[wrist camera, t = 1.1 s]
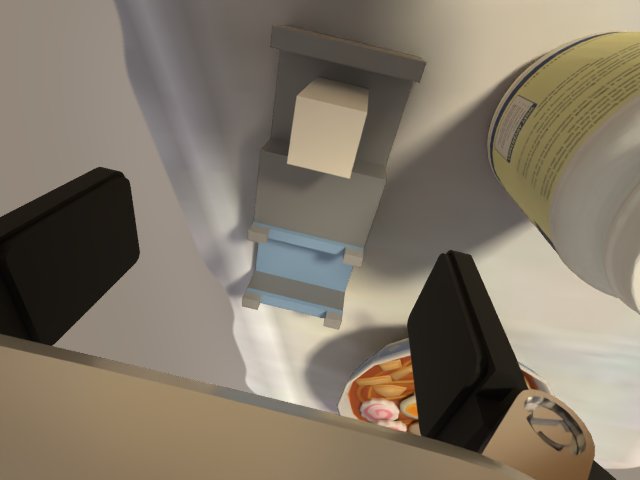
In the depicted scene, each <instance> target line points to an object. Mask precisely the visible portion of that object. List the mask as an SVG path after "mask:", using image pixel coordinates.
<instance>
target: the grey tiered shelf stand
mask: <svg viewBox="0 0 640 480" xmlns="http://www.w3.org/2000/svg"><path fill="white" fill-rule="evenodd" d="M270 47H272V48H276V49H281V50H280V59H279V68H278V77H277V86H276V95H275V104H274V113H273V122H272V131H271V139H270V140H269V141H268V142H267V143H266V144H265V146H264V147H263V148H262V149H261V150H260V161H259V171H258V182H257V192H256V203H255V213H254V222H253V224H252V225H251V227H250V229H249V230H248V240H249V241H253V242H258V243H259V244H258V253H257V262H256V271H255V273H254V275H253V277H252V279H251V281H250V283H249V285H248V287H247V289H246V291H245V294H244V296H243V298H242V306H243V307H247V308H252V309H256V310H257V309H258V307H259V305H260V303H263V304H267V305H271V306H275V307H279V308H283V309H287V310H292V311H296V312H300V313H304V314H308V315H312V316H316V317H320V318H325V319H324V325H323V326H326V327H330V328H334V329H338V330H339V328H340V325H341V322H342V314H343V304H344V295H345V290H346V287H347V284H348V281H349V278H350V275H351V272H352V269H353V266H357V267H361V264H362V261H363V256H364V246H365V243H366V240H367V237H368V234H369V231H370V228H371V226H372V223H373V220H374V217H375V214H376V211H377V208H378V205H379V202H380V199H381V196H382V193H383V190H384V187H385V184H386V181H387V178H386V163H387V160H388V157H389V154H390V151H391V148H392V145H393V142H394V139H395V136H396V133H397V130H398V127H399V123H400V120H401V117H402V114H403V111H404V108H405V105H406V102H407V99H408V96H409V93H410V90H411V87H412V84H413V81H414V82H419V83H420V80H421V77H422V74H423V71H424V68H425V65H426V62H425V61H424V60H422V59H421V58H420V57H416V56H412V55H408V54H404V53H400V52H396V51H391V50H387V49H383V48H379V47H375V46H370V45H366V44H362V43H358V42H354V41H349V40H345V39H341V38H337V37H333V36H329V35H324V34H320V33H316V32H312V31H308V30H303V29H299V28H295V27H291V26H287V25H275V26H272V35H271V46H270ZM316 77H321V78H325V79H329V80H333V81H337V82H342V83H346V84H350V85H354V86H358V87H363V88H367V89H369V95H368V110H367V116H366V119H365V123H364V127H363V131H362V134H361V138H360V142H359V146H358V149H357V153H356V157H355V161H354V164H353V168H352V172H351V176H350V179H349V178H345V177H341V176H336V175H332V174H328V173H324V172H320V171H316V170H311V169H307V168H303V167H299V166H295V165H291V164H287V159H288V153H289V146H290V139H291V132H292V125H293V118H294V111H295V104H296V98H297V95H298V94H299V93H300V92H301V91H302V90H303V89H304V88H306V87H307V86H308V85H309V84H310V83H311V82H312V81H313V80H314V79H315V78H316Z"/></svg>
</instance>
